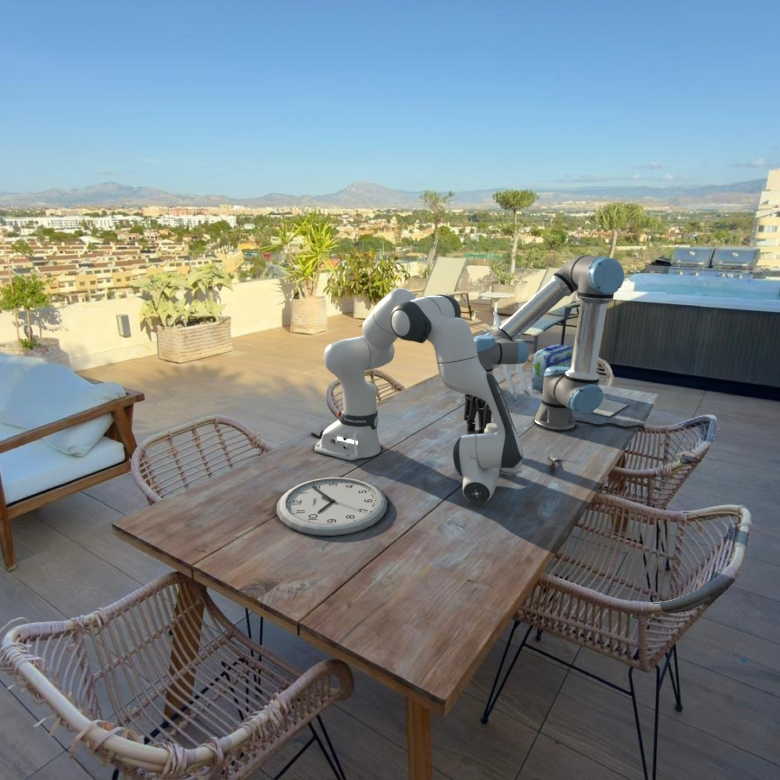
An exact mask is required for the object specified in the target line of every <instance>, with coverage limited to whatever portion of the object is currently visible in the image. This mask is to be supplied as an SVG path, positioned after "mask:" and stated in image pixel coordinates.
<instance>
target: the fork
mask: <svg viewBox="0 0 780 780" xmlns="http://www.w3.org/2000/svg"><path fill="white" fill-rule="evenodd" d="M559 454H560V449H556V451H555V452H553V451H551V452H550V456H549V457H550V460H552V462H551V466H550V468H551V469H550V470H551V474H553V473H554V469H555V467H556V463H555V461H558V460H559Z"/></svg>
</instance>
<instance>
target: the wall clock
mask: <svg viewBox="0 0 780 780" xmlns="http://www.w3.org/2000/svg"><path fill="white" fill-rule="evenodd" d="M387 509H388V500H387V498H386V496H385V494H384V493H383V492H382V491H381V490H380V489H379V488H377V487H376V486H374V485H372V484H371V483H369V482H365V481H362V480H359V479H355V478H349V477H338V476H337V477H335V476H333V477H332V476H331V477H322V478H317V479H312V480H307V481H305V482H302V483H299V484H297V485H295V486H293V487H292V488H290V489H288V490H287V491H286V492H285V493H284V494H283V495H281V496H280V498H279V499H278V502H277V503H276V515H277V517H278V518H279V520H280V521H281V522H282V523H283V524H285V525H286V526H287V527H288V528H290V529H293V530H295V531H297V532H299V533H303V534H308V535H312V536H327V537H328V536H329V537H331V536H332V537H333V536H342V535H350V534H352V533H356V532H361V531H363V530H366V529H368V528H369V527H372V526H373V525H375V524H376V523H378V522H379V521H380V520H381V519H382V518H383V517H384V516H385V514H386V512H387Z"/></svg>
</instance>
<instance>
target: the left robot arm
mask: <svg viewBox="0 0 780 780" xmlns="http://www.w3.org/2000/svg"><path fill="white" fill-rule="evenodd" d="M361 326H362V327H361V329H362V330H361V331H362V335H360V336H356V337H350V338H345V339H340V340H337V341H334V342H332V343H330V344H328V345H327V346H326V347H325V349H324V352H323V355H322V357H323V363H324V366H325V368H326V370H328V371H329V372H330V373H331V374H332V375H334V376H335V378H337V380H338V381H339V383H340V386H341V391H342V407H341V408H340V410H338V412H337V413H336V414H335V415H336V418H338V419H337V420H335V421H334V422H332V423H331V424H330V425H328V426H327V427H326V428H325V429H322V430H321V431H320V432H319V434H317V433H315V432H311V433H310V435H311V436H312V437H315V438H317V439H319V440H317V442H316V444H315V445H314V452H316V453H320V454H322V455H323V454H324V455H328V456H331V457H335V458H339V459H342V460H346V461H355V460H359V459H366V458H371V457H374V456H377V455H378V454H379V453H380V452H381V451H382V448H381V447H382V446H381V445H380V440H379V434H378V424H379V414H378V413H379V412H378V409H377V402H378V401H377V394H378V393H377V388H376V387H375V385H374V384H373V383H371V382H370V381H368V380H366V377H365V371H369V370H374V369H379V368H381V367H384V366H386V365H388V364H390V363H391V362H392V361H393V359H394V357H395V351H396V349H395V346H394V343H395V342H396V341H397V339H400V340H403V341H408V342H415V343H418V344H424V343H425V342H426V341H428V342H429V343H430V344H431V346H433V349H434V352H435V359H436V365H437V370H438V373H439V377H440V381H442V383H443V384H444V385H445V386H446V387H447V388H449V389H450V390H452V391H455V392H457V393H460V394H464V395H465V394H469V395H473V396H476V397H479V398H481V399H483V400H484V401H486V402H487V404H488V405H489V407H490V410H491V412H492V417H493V421H494V423H495V424H496V426H497V428H498V431H497V432H491V433H482V434H471V435H467V434H464V435H460V436H459V438H457V440H456V442H455V443H454V446H453V449H452V460H453V465H454V472H455V474H456V475H457V476H460V477H462V495H463V496H464V498H465V499H466V500H467V501H469V502H471V503H473V504H484V503H486V502H488V501H489V500H490V499H491V498H492V497H493V495H494V493H495V490H496V488H497V484H498V480H499V476H500V475H501V474H503V475H507V476H517V475H518V474H521V473H522V471H523V468H522V466H523V459H524V445H523V442H522V440H521V438H520V435H519V434H518V432H517V429H516V427H515V425H514V421H513V419H512V416H511V414H510V412H509V407H508V406H507V403H506V400H505V397H504V395H503V392H502V390H501V388H500V385H499V383H498V380H497V379H496V377H495V376H494V374H491V373H488V372H486V371H485V370H484V368H483V367H482V365H481V364H480V361H479V358H478V354H477V349H476V345H475V341H474V335H473V332H472V329H471V327H470V325H469V323H468V322H467V320H465V319H464V318H462V309H461V305H460V303H459V302H458V300H457V299H456V298H455V297H453V296H451V295H449V294H448V295H447V294H434V295H426V296H421V297H418V298H417V297H416V296H415V294H414V293H413V292H412V291H410V290H409V289H407V288H405V287H404V288H403V287H398V288H394V289H393V290H391V291H390V292H389V293H387V294H386V295H385V296H384V297H383V298H382V299H381V300H380V301H379V302H378V303H377V304H376V305H375V307H374V308H373V309H372V310H371V312H370V313H369V314H368V315H367V317H366V318H365V320H364V321H363V323H362V325H361Z"/></svg>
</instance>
